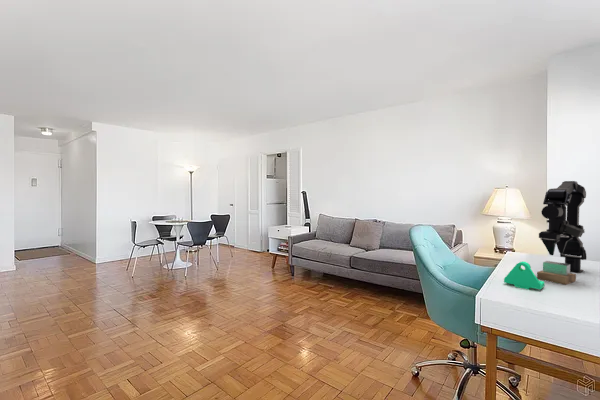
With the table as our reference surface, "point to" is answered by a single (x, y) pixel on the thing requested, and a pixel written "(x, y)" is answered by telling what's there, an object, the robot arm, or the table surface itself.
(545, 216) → the robot arm
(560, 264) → the block
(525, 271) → the camera mount
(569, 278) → the stand
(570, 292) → the table surface
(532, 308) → the table surface
